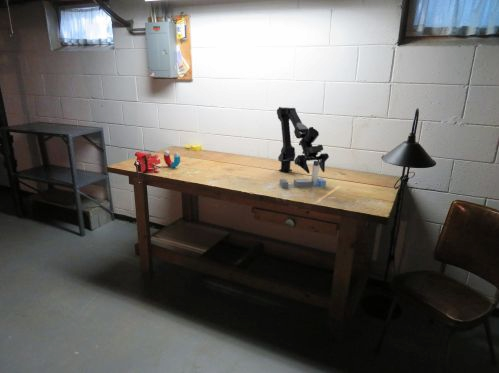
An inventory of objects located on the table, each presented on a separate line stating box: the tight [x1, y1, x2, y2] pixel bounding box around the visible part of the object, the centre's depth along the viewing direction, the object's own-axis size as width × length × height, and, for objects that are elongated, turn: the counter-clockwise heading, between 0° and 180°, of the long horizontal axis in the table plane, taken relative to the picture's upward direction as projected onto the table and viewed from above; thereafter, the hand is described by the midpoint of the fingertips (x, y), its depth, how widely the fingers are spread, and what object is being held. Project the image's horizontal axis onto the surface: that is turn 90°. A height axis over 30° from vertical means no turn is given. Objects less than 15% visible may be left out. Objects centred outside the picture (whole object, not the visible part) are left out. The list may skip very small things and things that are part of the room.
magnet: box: [163, 149, 181, 168], centre depth 222 cm, size 12×3×10 cm, turn 57°
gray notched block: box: [278, 177, 327, 189], centre depth 191 cm, size 6×24×4 cm, turn 100°
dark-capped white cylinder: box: [310, 160, 320, 186], centre depth 191 cm, size 3×3×13 cm
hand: (316, 172), depth 189 cm, fingers open, 9 cm apart
